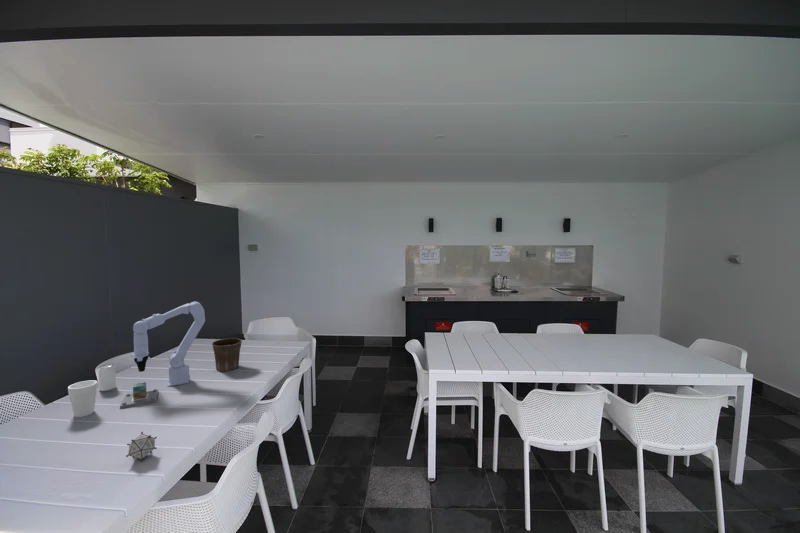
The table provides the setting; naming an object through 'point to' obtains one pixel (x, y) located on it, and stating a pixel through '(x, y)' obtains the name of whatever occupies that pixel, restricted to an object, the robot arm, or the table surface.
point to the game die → (141, 446)
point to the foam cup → (83, 397)
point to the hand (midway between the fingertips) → (142, 371)
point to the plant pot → (227, 353)
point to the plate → (149, 398)
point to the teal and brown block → (139, 391)
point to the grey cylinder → (107, 377)
